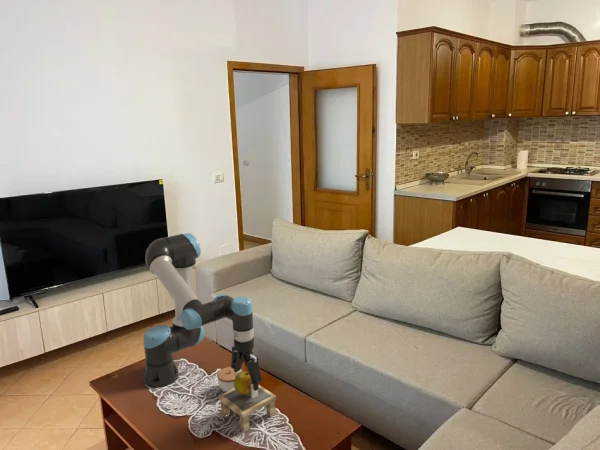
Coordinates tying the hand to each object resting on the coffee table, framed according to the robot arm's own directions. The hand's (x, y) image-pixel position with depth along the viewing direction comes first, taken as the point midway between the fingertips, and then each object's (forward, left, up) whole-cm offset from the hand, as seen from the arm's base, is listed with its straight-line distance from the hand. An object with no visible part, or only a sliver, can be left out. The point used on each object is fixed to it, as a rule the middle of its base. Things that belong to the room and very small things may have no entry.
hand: (247, 391), depth 178 cm
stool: (0, 0, -10) cm, 10 cm away
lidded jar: (-19, +5, -10) cm, 22 cm away
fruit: (0, 0, 0) cm, 0 cm away
